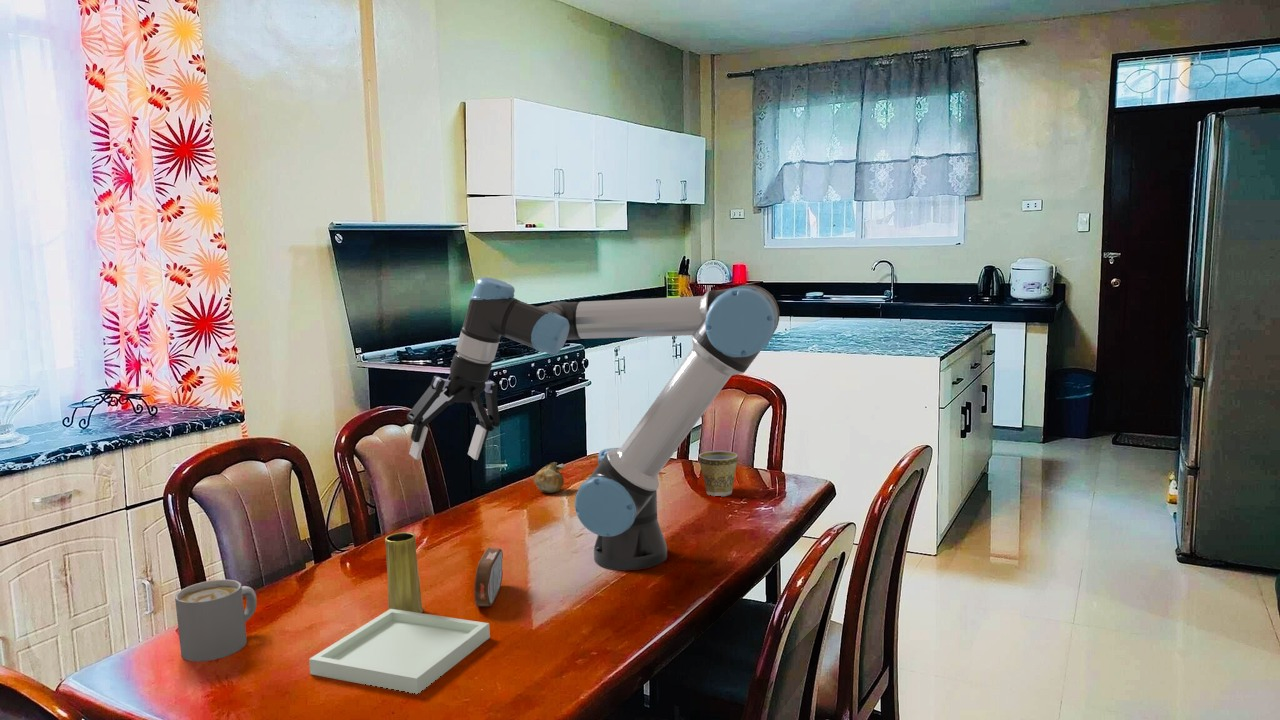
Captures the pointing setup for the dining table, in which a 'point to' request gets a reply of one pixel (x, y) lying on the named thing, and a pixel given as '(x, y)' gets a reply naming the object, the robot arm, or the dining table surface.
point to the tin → (488, 577)
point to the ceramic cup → (718, 471)
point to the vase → (403, 573)
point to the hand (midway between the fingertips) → (444, 456)
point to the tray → (400, 650)
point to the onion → (549, 478)
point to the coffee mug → (213, 619)
